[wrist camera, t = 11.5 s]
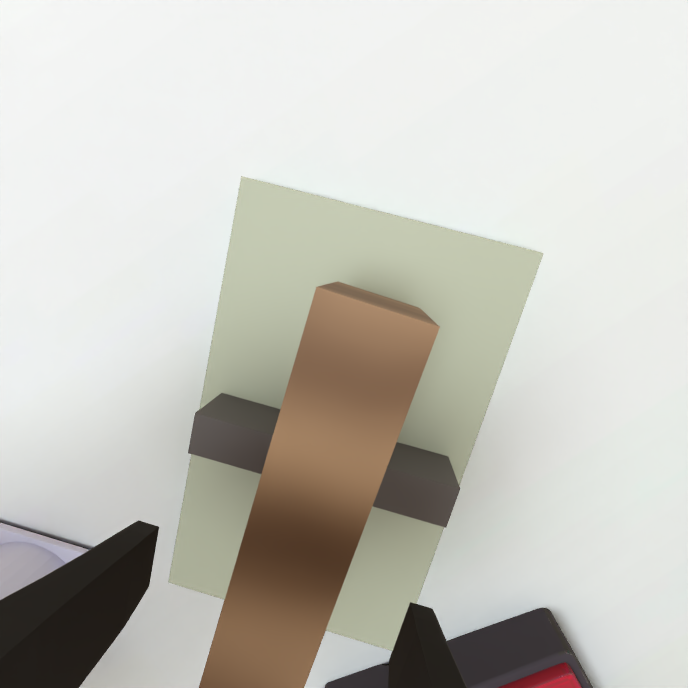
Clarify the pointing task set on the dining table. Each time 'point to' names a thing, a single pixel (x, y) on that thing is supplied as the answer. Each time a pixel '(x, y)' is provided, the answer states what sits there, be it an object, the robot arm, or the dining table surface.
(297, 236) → the stand
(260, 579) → the walnut batten
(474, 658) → the red and black box
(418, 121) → the dining table surface
